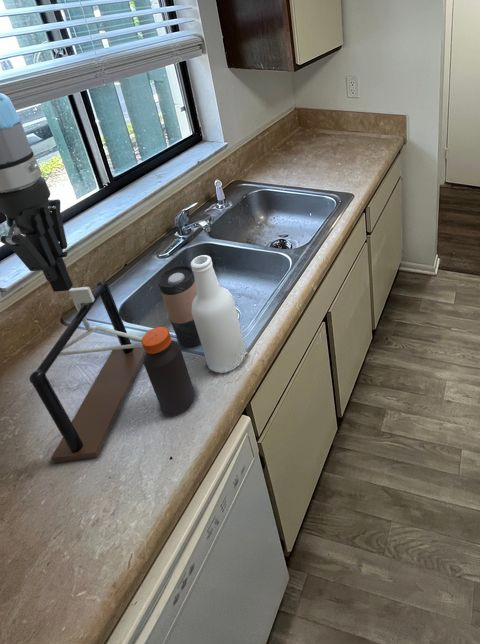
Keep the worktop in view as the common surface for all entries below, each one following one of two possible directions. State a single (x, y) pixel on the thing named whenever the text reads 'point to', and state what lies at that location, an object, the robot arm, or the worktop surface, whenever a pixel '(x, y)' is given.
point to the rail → (104, 395)
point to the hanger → (86, 296)
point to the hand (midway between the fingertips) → (63, 288)
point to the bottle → (167, 371)
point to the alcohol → (216, 319)
